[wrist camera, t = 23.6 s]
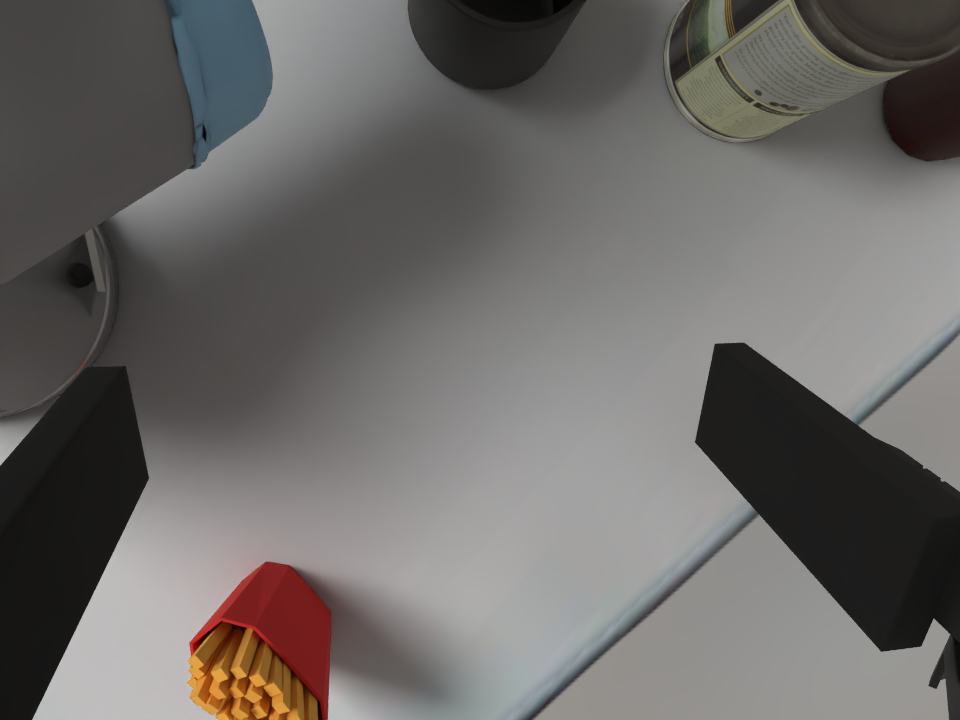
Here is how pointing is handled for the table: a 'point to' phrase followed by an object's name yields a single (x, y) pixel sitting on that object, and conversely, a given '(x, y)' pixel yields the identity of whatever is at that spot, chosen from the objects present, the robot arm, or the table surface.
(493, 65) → the mug
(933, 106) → the beer bottle
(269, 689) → the french fries
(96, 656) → the table surface
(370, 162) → the table surface
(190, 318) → the table surface
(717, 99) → the coffee can
